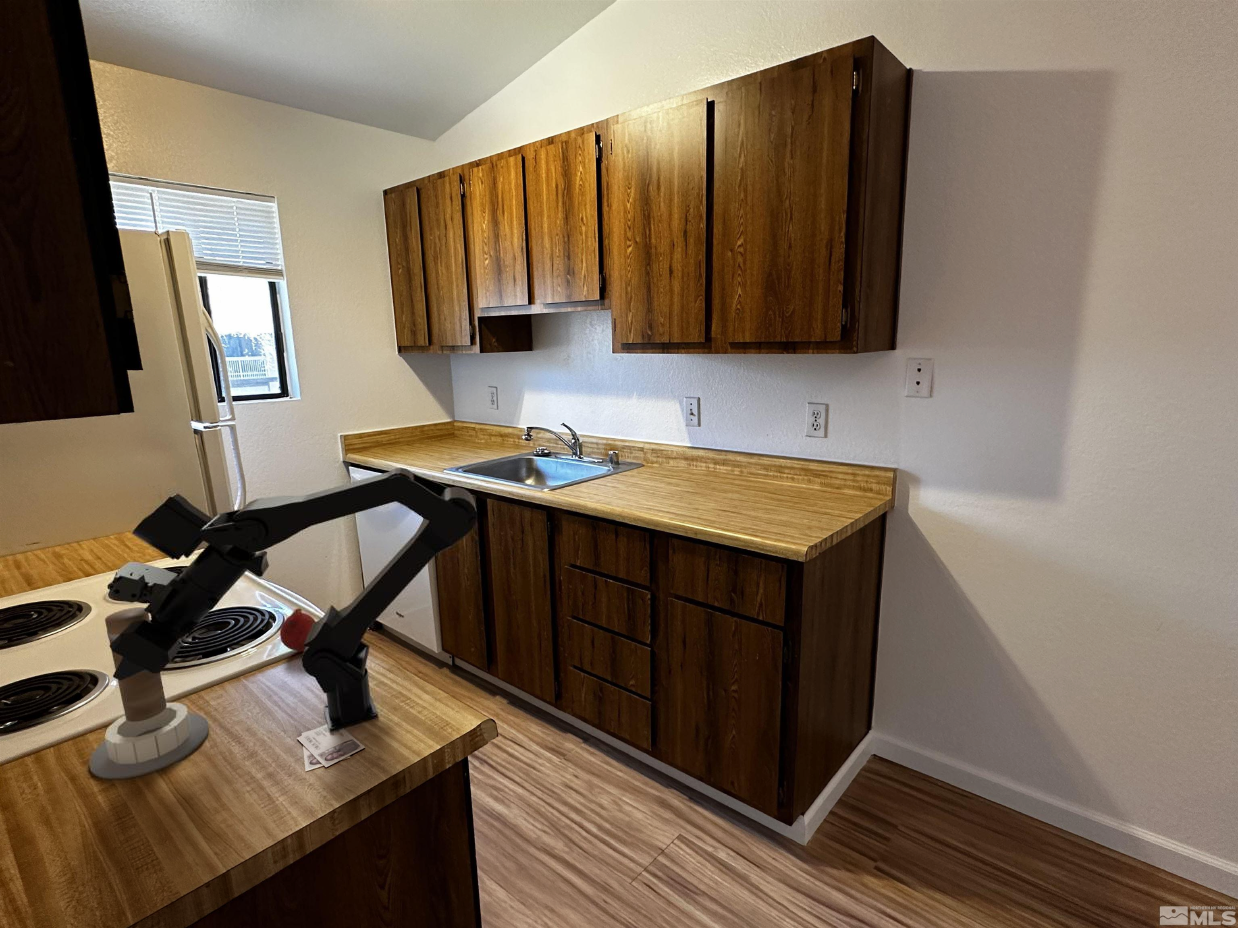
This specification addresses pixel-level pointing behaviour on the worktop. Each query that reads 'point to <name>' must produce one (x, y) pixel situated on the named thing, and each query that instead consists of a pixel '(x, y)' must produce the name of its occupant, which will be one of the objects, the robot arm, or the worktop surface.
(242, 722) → the worktop surface
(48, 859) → the worktop surface
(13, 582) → the worktop surface
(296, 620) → the onion
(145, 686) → the pepper mill
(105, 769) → the holder cup
